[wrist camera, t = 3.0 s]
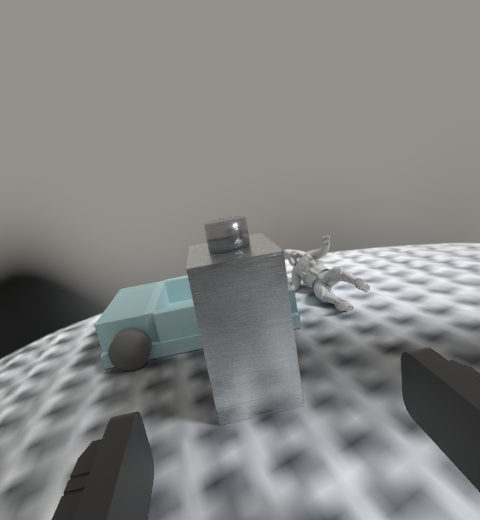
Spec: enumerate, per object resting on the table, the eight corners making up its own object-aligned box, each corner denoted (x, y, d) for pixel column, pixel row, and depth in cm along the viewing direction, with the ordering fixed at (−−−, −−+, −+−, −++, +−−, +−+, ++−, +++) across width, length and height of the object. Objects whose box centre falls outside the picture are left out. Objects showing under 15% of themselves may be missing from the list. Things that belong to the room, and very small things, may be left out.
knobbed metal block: (279, 352, 24) (257, 209, 22) (304, 406, 18) (278, 218, 16) (214, 366, 24) (184, 222, 21) (219, 425, 18) (179, 236, 15)
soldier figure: (313, 334, 28) (250, 267, 38) (341, 348, 31) (276, 283, 41) (373, 262, 27) (293, 212, 37) (396, 284, 30) (317, 233, 40)
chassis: (271, 286, 38) (267, 256, 37) (305, 334, 26) (300, 291, 25) (132, 314, 37) (124, 284, 36) (100, 377, 25) (87, 334, 24)
